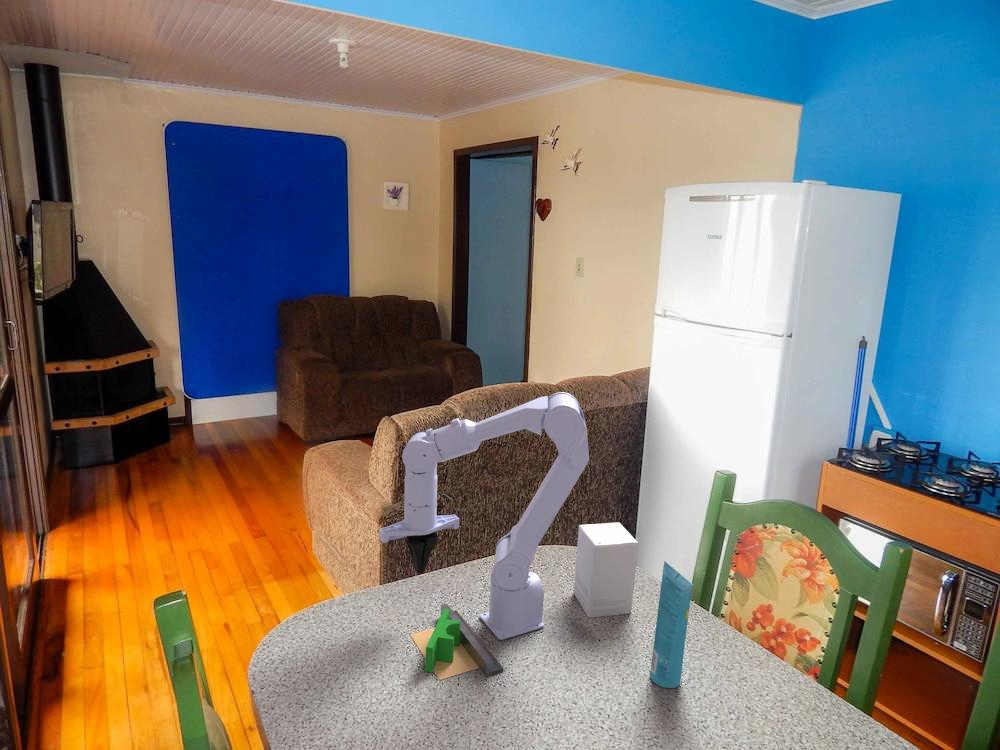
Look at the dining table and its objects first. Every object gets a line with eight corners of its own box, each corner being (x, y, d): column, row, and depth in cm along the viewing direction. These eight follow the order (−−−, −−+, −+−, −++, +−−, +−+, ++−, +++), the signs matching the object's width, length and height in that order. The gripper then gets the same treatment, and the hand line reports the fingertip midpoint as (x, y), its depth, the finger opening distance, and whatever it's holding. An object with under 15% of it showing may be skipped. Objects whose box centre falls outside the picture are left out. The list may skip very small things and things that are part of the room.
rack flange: (456, 613, 121) (456, 601, 121) (503, 671, 106) (504, 657, 105) (404, 627, 116) (404, 614, 116) (446, 690, 101) (446, 676, 100)
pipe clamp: (447, 675, 104) (448, 650, 103) (425, 672, 105) (425, 647, 104) (463, 633, 115) (464, 610, 114) (443, 630, 116) (443, 607, 115)
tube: (691, 689, 104) (705, 581, 100) (668, 697, 102) (681, 587, 97) (661, 661, 110) (673, 558, 106) (638, 668, 108) (649, 564, 104)
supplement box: (632, 614, 123) (640, 542, 120) (588, 619, 121) (595, 546, 118) (614, 588, 132) (620, 521, 129) (572, 592, 130) (577, 523, 127)
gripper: (448, 486, 121) (446, 552, 124) (373, 498, 114) (373, 568, 117) (465, 500, 115) (462, 569, 118) (387, 514, 108) (386, 587, 111)
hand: (419, 570), depth 117 cm, fingers closed
